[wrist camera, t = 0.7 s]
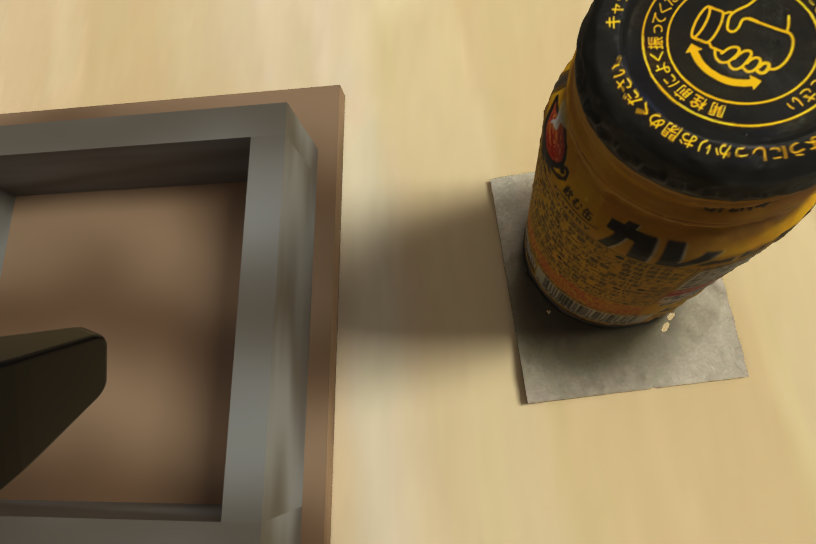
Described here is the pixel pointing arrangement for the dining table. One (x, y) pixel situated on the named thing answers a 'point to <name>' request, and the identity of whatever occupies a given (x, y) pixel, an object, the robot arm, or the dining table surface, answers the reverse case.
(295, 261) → the well caddy
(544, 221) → the condiment
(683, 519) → the dining table surface
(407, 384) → the dining table surface
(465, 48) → the dining table surface
